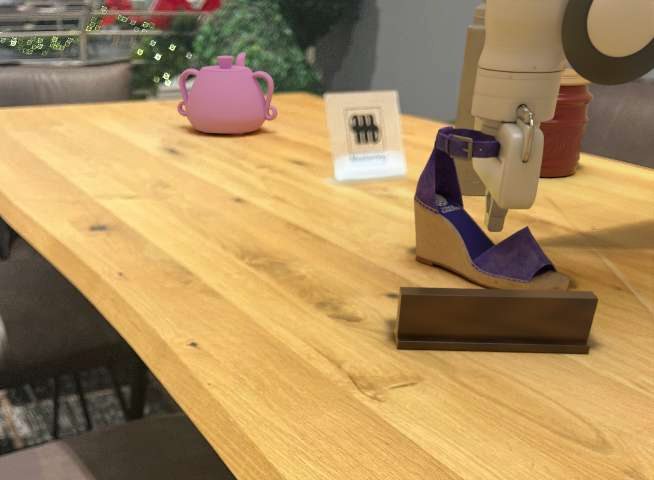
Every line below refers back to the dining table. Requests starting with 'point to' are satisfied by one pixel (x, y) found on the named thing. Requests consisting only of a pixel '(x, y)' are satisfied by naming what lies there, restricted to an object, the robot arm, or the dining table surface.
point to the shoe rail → (494, 319)
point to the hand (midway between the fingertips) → (492, 228)
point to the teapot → (226, 98)
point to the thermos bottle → (470, 99)
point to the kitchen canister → (566, 126)
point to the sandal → (472, 224)
